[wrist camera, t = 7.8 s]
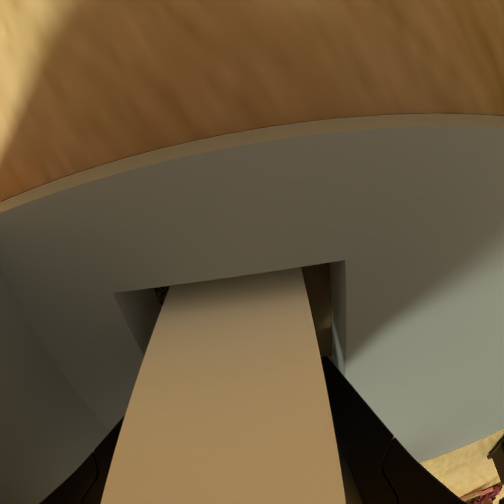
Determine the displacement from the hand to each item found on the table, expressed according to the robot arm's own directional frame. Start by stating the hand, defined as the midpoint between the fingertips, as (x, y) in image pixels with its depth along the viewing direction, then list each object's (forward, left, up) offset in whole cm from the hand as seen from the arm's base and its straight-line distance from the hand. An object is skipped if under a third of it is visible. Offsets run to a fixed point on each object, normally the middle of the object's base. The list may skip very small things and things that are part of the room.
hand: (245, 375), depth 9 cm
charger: (0, 0, -2) cm, 2 cm away
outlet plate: (-3, +3, -3) cm, 5 cm away
